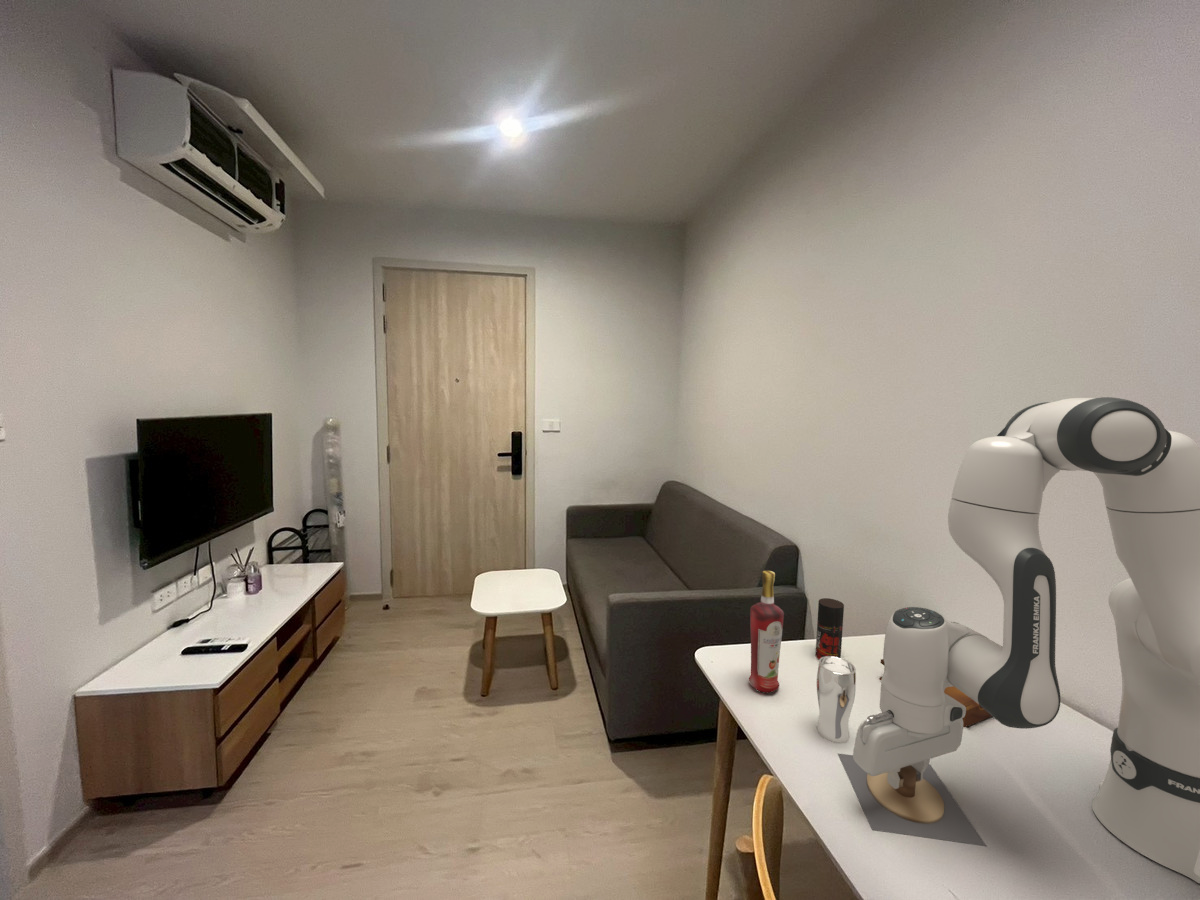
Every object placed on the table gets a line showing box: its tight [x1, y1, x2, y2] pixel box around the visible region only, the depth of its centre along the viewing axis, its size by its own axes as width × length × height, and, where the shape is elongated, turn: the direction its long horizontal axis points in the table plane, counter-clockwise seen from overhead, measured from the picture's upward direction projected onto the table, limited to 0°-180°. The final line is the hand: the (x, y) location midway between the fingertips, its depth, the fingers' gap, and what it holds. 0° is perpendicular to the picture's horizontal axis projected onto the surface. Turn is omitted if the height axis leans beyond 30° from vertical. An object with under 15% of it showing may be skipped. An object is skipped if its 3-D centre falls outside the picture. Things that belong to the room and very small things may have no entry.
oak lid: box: [867, 765, 944, 824], centre depth 79 cm, size 11×11×5 cm
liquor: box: [748, 570, 785, 694], centre depth 108 cm, size 7×7×28 cm
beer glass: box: [816, 656, 857, 744], centre depth 94 cm, size 7×7×15 cm
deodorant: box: [815, 597, 845, 660], centre depth 122 cm, size 6×6×15 cm
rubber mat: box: [837, 753, 987, 847], centre depth 79 cm, size 16×16×1 cm
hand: (904, 782), depth 79 cm, fingers closed on oak lid, 3 cm apart
